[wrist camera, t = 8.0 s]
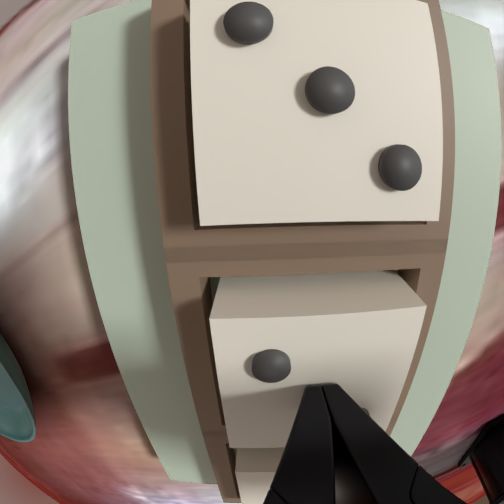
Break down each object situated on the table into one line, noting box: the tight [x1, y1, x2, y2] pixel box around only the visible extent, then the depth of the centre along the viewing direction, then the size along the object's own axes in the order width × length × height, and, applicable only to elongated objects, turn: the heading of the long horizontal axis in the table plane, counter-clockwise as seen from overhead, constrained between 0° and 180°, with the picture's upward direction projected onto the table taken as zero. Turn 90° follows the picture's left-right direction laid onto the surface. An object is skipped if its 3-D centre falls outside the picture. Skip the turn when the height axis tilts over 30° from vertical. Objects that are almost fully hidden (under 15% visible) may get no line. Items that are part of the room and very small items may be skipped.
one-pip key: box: [235, 447, 285, 504], centre depth 11 cm, size 5×5×3 cm
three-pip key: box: [190, 0, 443, 226], centre depth 6 cm, size 5×5×3 cm
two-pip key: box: [209, 270, 427, 448], centre depth 8 cm, size 5×5×3 cm
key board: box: [68, 0, 501, 503], centre depth 10 cm, size 22×14×3 cm, turn 2°
